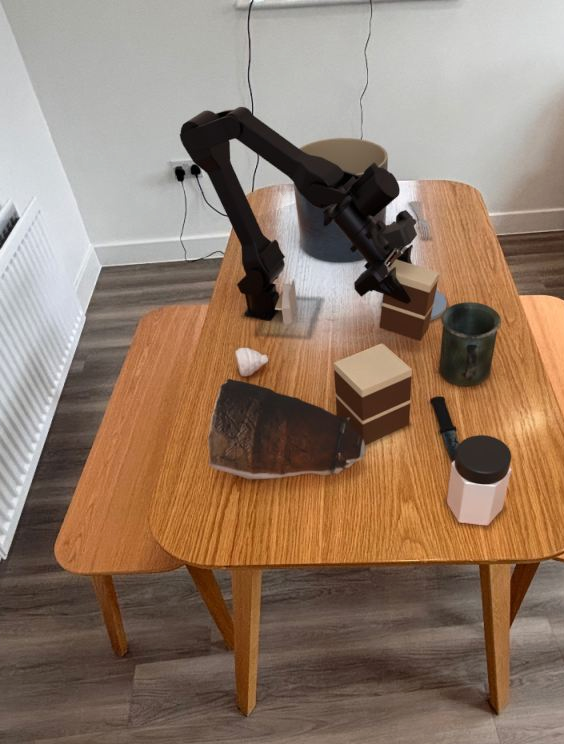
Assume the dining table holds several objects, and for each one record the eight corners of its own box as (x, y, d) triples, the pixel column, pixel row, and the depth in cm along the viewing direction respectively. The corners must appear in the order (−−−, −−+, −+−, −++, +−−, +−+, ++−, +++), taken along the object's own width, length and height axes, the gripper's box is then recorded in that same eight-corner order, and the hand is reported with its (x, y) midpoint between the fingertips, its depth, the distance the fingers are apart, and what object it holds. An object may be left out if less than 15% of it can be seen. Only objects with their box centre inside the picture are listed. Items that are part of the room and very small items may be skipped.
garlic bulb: (272, 376, 127) (269, 353, 123) (242, 382, 126) (238, 359, 122) (266, 360, 130) (262, 337, 126) (237, 366, 129) (233, 343, 125)
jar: (468, 479, 107) (476, 425, 98) (510, 501, 104) (523, 448, 95) (437, 510, 103) (443, 457, 94) (480, 535, 100) (490, 483, 90)
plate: (374, 316, 140) (374, 312, 139) (394, 284, 148) (394, 280, 147) (436, 328, 136) (436, 324, 135) (453, 294, 144) (454, 290, 144)
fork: (418, 211, 176) (418, 200, 174) (431, 239, 161) (432, 227, 159) (408, 212, 176) (408, 201, 174) (420, 239, 161) (421, 228, 159)
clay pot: (370, 444, 96) (206, 410, 95) (352, 516, 107) (204, 486, 106) (377, 392, 107) (231, 360, 106) (360, 462, 118) (227, 434, 117)
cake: (336, 418, 118) (333, 362, 109) (381, 398, 122) (382, 342, 112) (363, 446, 113) (361, 390, 104) (409, 425, 117) (412, 369, 107)
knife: (429, 397, 119) (445, 395, 120) (429, 403, 121) (444, 400, 121) (456, 476, 106) (473, 473, 106) (455, 481, 107) (473, 479, 107)
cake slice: (378, 327, 129) (385, 271, 120) (388, 314, 132) (395, 258, 122) (420, 341, 128) (430, 285, 118) (428, 328, 130) (439, 272, 121)
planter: (290, 228, 167) (282, 145, 151) (371, 215, 170) (371, 132, 155) (310, 270, 153) (303, 183, 138) (398, 255, 156) (401, 168, 141)
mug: (489, 354, 130) (497, 301, 120) (496, 401, 120) (506, 347, 111) (435, 354, 130) (439, 301, 121) (438, 401, 121) (444, 347, 111)
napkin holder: (276, 323, 139) (272, 292, 133) (283, 306, 144) (279, 275, 138) (292, 324, 139) (288, 293, 133) (298, 307, 143) (295, 276, 137)
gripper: (369, 226, 107) (427, 299, 112) (408, 182, 118) (460, 250, 123) (329, 262, 115) (385, 328, 120) (369, 217, 126) (419, 280, 131)
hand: (413, 295), depth 124 cm, fingers closed on cake slice, 5 cm apart
